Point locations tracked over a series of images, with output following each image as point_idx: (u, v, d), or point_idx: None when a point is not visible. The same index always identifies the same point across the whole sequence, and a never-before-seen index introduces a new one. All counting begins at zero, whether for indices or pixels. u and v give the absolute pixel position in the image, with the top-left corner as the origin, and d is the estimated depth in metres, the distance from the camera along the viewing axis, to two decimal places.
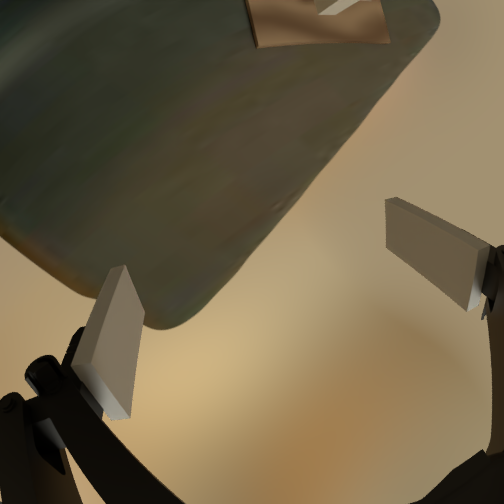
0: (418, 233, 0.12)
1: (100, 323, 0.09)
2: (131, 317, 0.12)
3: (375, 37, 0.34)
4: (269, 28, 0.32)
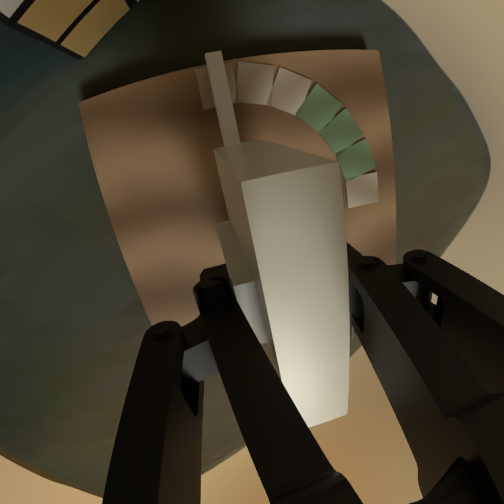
0: None
1: (241, 256, 0.12)
2: None
3: None
4: (171, 311, 0.22)
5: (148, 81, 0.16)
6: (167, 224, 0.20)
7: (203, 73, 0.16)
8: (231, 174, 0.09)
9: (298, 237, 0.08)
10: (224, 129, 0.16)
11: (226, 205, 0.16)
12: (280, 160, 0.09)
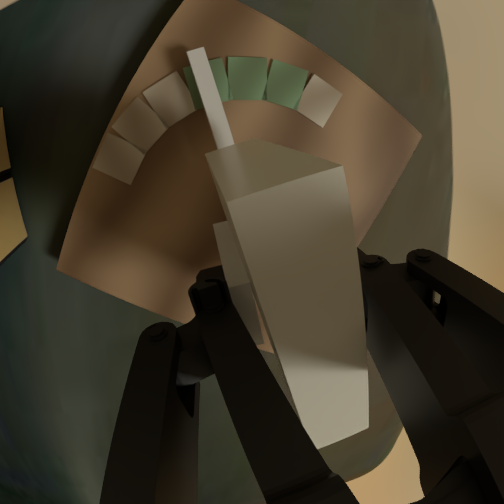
0: None
1: (237, 257, 0.12)
2: None
3: (399, 159, 0.19)
4: None
5: (76, 209, 0.17)
6: None
7: (101, 162, 0.16)
8: (219, 188, 0.07)
9: (302, 258, 0.07)
10: (215, 130, 0.15)
11: None
12: (274, 166, 0.07)
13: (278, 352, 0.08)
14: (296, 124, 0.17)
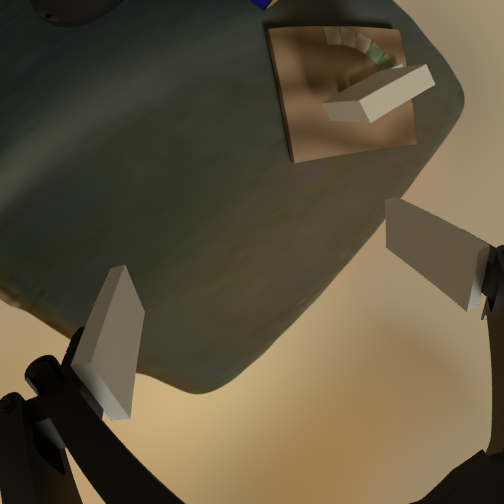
0: (418, 233, 0.12)
1: (100, 323, 0.09)
2: (131, 317, 0.12)
3: (402, 140, 0.40)
4: (305, 142, 0.38)
5: (303, 27, 0.31)
6: (309, 92, 0.35)
7: (327, 29, 0.32)
8: None
9: (421, 78, 0.25)
10: None
11: (367, 78, 0.32)
12: None
13: (402, 76, 0.24)
14: None
